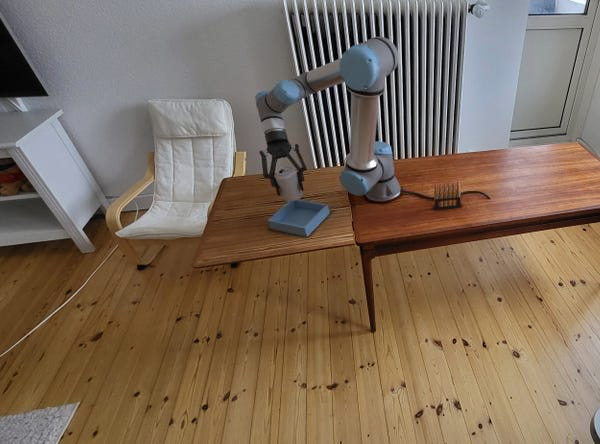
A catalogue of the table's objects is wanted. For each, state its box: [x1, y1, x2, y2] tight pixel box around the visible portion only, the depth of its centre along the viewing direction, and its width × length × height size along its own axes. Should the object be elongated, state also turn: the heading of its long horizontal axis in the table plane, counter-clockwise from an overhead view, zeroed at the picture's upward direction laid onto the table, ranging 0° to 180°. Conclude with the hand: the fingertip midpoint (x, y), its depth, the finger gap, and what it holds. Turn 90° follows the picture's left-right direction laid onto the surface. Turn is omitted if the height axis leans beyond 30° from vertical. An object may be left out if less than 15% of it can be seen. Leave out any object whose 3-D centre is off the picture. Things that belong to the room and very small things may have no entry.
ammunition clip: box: [433, 181, 462, 211], centre depth 148 cm, size 11×2×12 cm, turn 98°
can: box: [274, 165, 304, 203], centre depth 136 cm, size 8×8×12 cm
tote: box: [267, 198, 331, 238], centre depth 146 cm, size 17×16×4 cm
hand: (290, 192), depth 135 cm, fingers closed on can, 7 cm apart
